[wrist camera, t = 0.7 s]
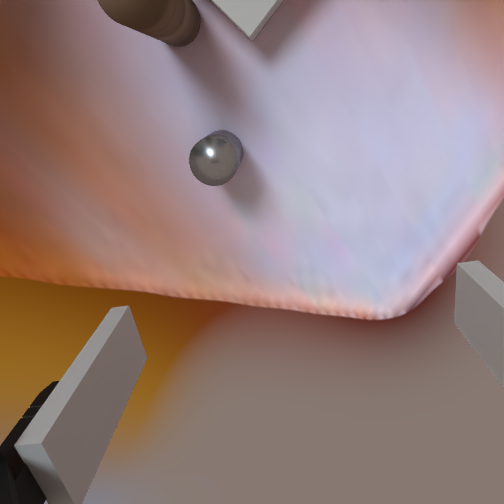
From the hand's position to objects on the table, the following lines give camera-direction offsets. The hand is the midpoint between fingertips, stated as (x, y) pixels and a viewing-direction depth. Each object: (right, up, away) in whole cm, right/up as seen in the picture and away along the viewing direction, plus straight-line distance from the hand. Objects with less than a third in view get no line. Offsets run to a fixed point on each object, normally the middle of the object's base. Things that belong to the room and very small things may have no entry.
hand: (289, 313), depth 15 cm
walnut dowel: (-8, +23, +18) cm, 30 cm away
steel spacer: (-4, +12, +22) cm, 26 cm away
